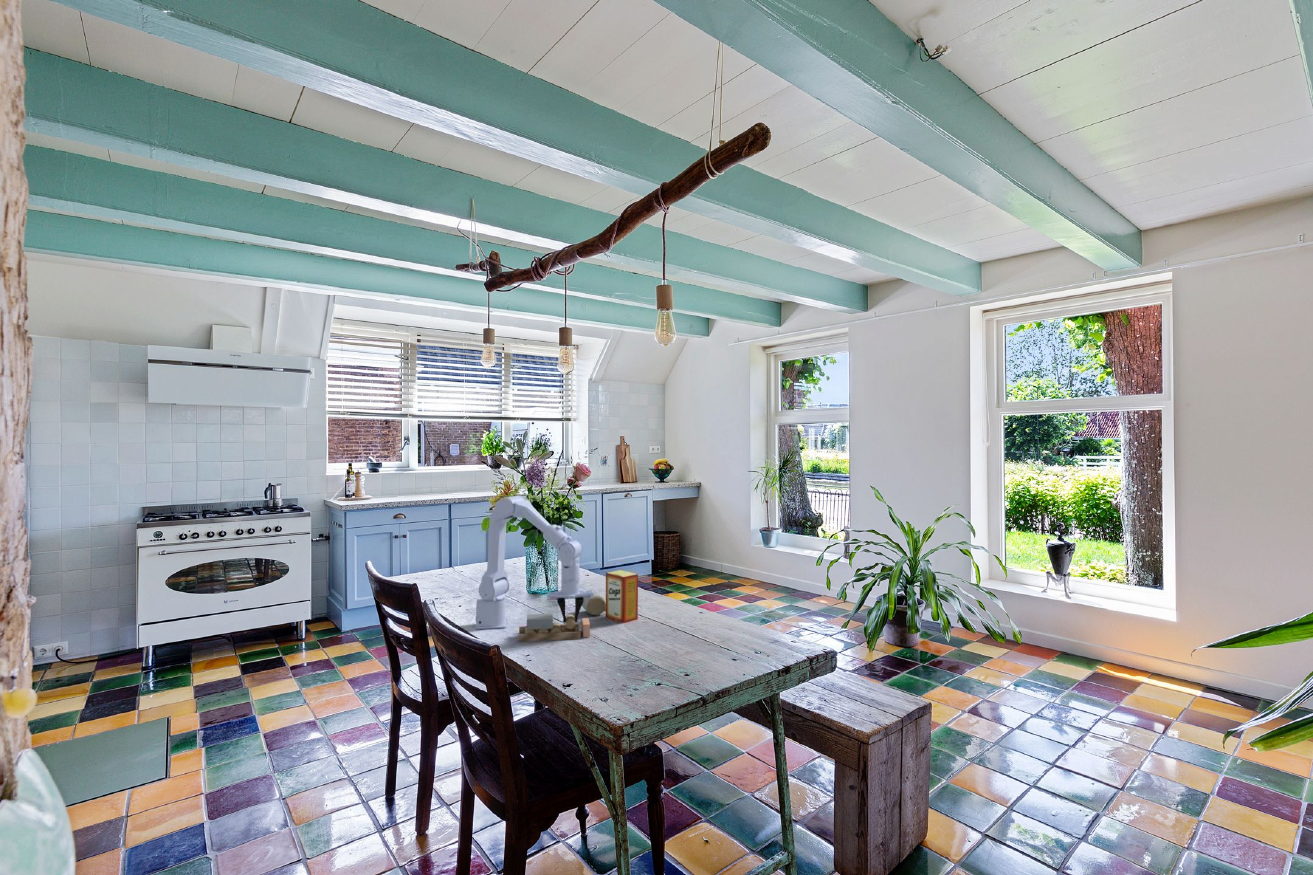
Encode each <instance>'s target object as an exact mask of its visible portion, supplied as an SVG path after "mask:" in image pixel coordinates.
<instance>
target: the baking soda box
mask: <svg viewBox="0 0 1313 875" xmlns="http://www.w3.org/2000/svg"><path fill="white" fill-rule="evenodd" d="M638 588H639V574H638V573H634V572H630V571H626V570H621V569H619V570H612V571H608V572H605V603H606V611H605V618H606V619H609V620H612V621H615V622H618V623H621V624H626V623H630V622H633V621H636V620H638V619H639V617H638V616H639V612H638V611H639V605H638V604H639V589H638Z"/></svg>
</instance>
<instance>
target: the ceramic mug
mask: <svg viewBox="0 0 1313 875" xmlns="http://www.w3.org/2000/svg"><path fill="white" fill-rule="evenodd" d="M587 591H593V598H583V599H584V602H583V604H582V607H581V608H582V609H584V610H585V611H586V612H587V613H588V614H589V615H591V616H599V615H601V614H603V613H604V612H606V599H604V597H603V596H602V595H601V594H600V593H599V591H597V590H596V589H589V590H587Z"/></svg>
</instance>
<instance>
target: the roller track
mask: <svg viewBox="0 0 1313 875" xmlns="http://www.w3.org/2000/svg"><path fill="white" fill-rule="evenodd" d="M579 629H580V624H579V623H575V627H574V628H573V629H568V628H567V627H566V623H564V624H563V623H562V624H560V623H559V622H553V628H550V629H530V630H527V625H521V626H518V630H519V631H518V635H517V639H518V640H517V642H518V643H525V642H541V641H542V642H544V641H546V642H547V641H562V640H577V639H578V640H581V631H579Z"/></svg>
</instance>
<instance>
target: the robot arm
mask: <svg viewBox="0 0 1313 875" xmlns="http://www.w3.org/2000/svg"><path fill="white" fill-rule="evenodd" d="M513 518H522V519H523V518H524V519H525V520H526V521H528V522H529V523H531V524H532V525H533V526H534V527H536V528H537V529H538V530H540V532H542V534H543V536H542V537H543V539H544V540H545V541H546V542H547V543H548V544H549V545H550V546H552V547H553V548H554V549H555V550H556V551H557V554H558V557H559V559H560V561H561V562H560V564H561V570H560V571H561V575H560V576H561V580H560V584H561V588H560V589H561V590H560V591H553V592H547V594H546V597H547V598H546V600H547V601H551V600H556V602H557V605H558V607H559V610H560V612H561V614H562V615H561V616H562V623H564V624H566V616H567V615H566V600H573V599H574V607H575V608H574V609H575V610H574V618H575V623H578V619H579V615H580V614H579V613H580V612H581V608H583V607H582V604H583V602H584V599H583V598H593V591H588V590H580V556H581V555H582V554H583V551H584V550H583V545H582V543H581V542H580V541H579V539H575V538H574V539H573V537H572V536H570V535H568V534H567V533H565V531H563V530H562V526H561V525H557V524H551V523H549V521H547V520H546V518H544V516H542V515H541V513H539V511H537V510H536V508H535V507H534V506H533V505H532V503H531V501H530V500H528V499H527V498H525V496H524V495H520V494H518V495H517V494H516V495H514V496H508V497H505V496H504V497H502V498H500V499H498V501H496V502H494V508H493V511H492V512H491V514H490V516H489V524H488V525H489V529H488V549H487V566H486V567H487V568H486V570H485V572H484V573H483V575H482V576H481V581H480V583H479V585H478V594H479V597H480V598H478V599H477V600H476V603H475V605H476V606H475V607H476V608H475V611H476V612H475V629H477V630H483V629H502V628H506V627H507V624H508V620H507V619H506V596H507V594H506V593H508V592H509V590H510V585H511V584H510V581H509V579H508V576H509V574H508V572H507V571H506V570H505V558H506V557H505V556H506V538H507V537H506V535H507V523H508V522H510V521H511V520H512V519H513Z"/></svg>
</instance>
